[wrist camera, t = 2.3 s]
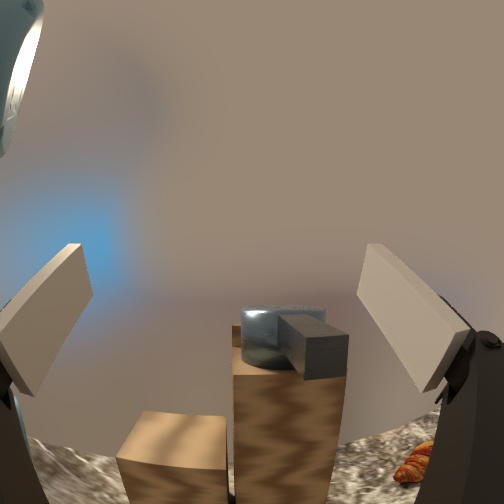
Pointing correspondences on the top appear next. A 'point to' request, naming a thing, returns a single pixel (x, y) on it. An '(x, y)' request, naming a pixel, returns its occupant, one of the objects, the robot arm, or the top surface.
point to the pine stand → (240, 443)
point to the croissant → (415, 464)
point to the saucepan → (293, 341)
